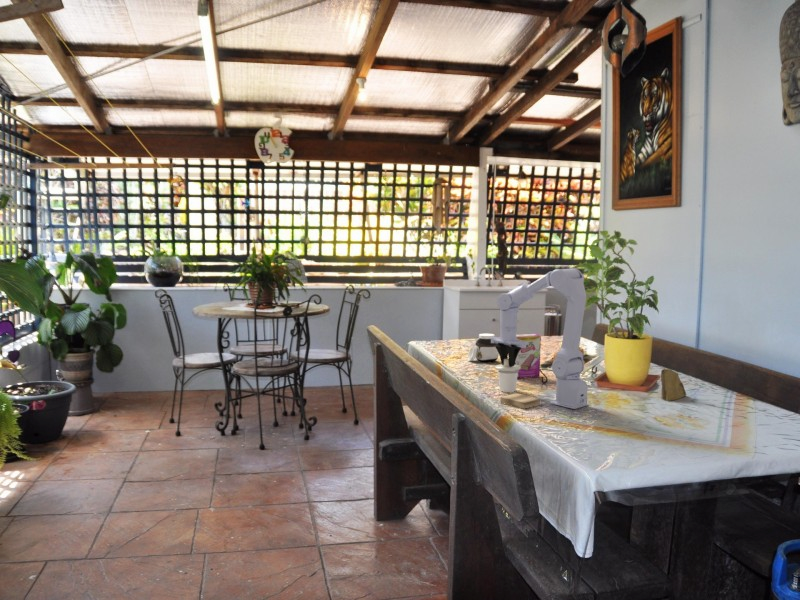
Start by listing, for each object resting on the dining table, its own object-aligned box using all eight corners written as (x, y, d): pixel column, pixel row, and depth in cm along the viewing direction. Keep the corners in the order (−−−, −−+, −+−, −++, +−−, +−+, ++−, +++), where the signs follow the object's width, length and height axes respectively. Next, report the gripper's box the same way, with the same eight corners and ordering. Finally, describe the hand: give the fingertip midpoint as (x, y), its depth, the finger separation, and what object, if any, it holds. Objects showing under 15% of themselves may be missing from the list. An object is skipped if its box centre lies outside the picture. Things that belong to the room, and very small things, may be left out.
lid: (525, 368, 232) (525, 359, 232) (510, 371, 226) (510, 362, 226) (505, 364, 239) (505, 356, 238) (489, 368, 232) (489, 359, 232)
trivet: (540, 404, 214) (540, 398, 214) (524, 409, 209) (524, 402, 209) (516, 398, 221) (516, 393, 221) (500, 402, 216) (500, 397, 216)
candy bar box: (514, 379, 251) (515, 336, 249) (508, 376, 256) (509, 334, 254) (540, 377, 254) (541, 335, 253) (534, 374, 259) (534, 333, 257)
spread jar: (501, 362, 284) (501, 335, 283) (481, 365, 278) (481, 337, 277) (482, 357, 294) (482, 331, 293) (463, 360, 288) (463, 334, 287)
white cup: (517, 393, 229) (517, 373, 228) (497, 392, 231) (497, 372, 230) (517, 388, 236) (518, 369, 235) (498, 387, 237) (498, 368, 236)
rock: (680, 386, 229) (653, 382, 228) (691, 370, 223) (662, 366, 222) (689, 411, 221) (660, 407, 220) (700, 395, 215) (671, 391, 214)
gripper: (485, 326, 234) (484, 363, 235) (517, 330, 223) (516, 370, 224) (498, 324, 238) (497, 361, 240) (530, 328, 227) (529, 367, 229)
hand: (507, 365), depth 232 cm, fingers closed on lid, 3 cm apart
